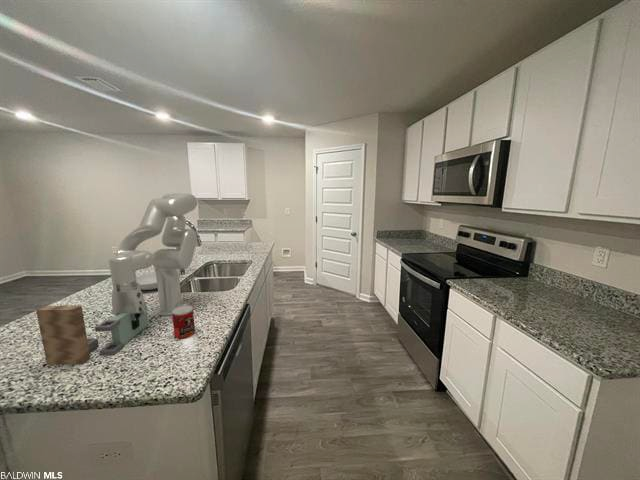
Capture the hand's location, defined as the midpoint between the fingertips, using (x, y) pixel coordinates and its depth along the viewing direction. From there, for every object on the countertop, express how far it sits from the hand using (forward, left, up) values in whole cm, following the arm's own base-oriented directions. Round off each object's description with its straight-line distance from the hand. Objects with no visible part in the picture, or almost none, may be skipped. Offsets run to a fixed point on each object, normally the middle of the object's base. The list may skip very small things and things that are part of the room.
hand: (131, 327), depth 102 cm
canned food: (-21, -1, -4) cm, 21 cm away
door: (0, +2, -3) cm, 4 cm away
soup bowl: (+27, -55, -4) cm, 61 cm away
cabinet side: (+10, +13, -4) cm, 17 cm away
